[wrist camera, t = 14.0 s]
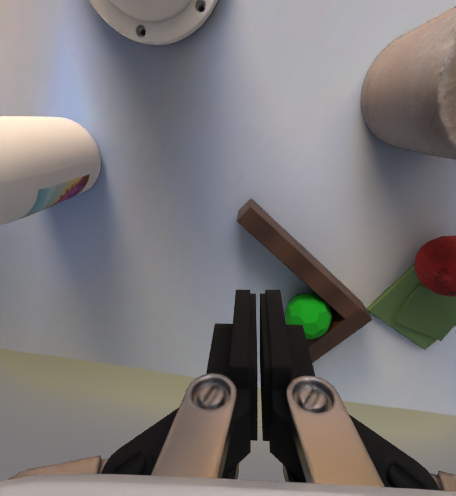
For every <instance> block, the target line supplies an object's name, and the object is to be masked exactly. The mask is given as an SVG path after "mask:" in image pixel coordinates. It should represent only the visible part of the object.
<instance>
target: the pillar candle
mask: <svg viewBox="0 0 456 496" xmlns="http://www.w3.org/2000/svg"><path fill="white" fill-rule="evenodd" d="M361 109H362V113H363V116H364V119H365V121H366V123H367V126H368V127H369V129H370V130H371V132H372V133H373V134H374V135H375V136H376V137H377V138H378V139H379V140H381V141H383V142H384V143H386V144H388V145H390V146H394V147H398V148H403V149H406V150H410V151H415V152H419V153H423V154H428V155H432V156H438V157H445V158H451V159H456V7H454V8H452V9H450V10H449V11H447V12H445V13H443V14H441V15H439V16H438V17H436V18H434V19H432V20H430V21H428V22H426V23H425V24H423V25H421V26H419V27H417V28H415V29H413V30H412V31H410V32H408V33H406V34H404V35H402V36H400V37H399V38H397V39H396V40H395V41H393V42H392V43H391V44H389V45H388V46H387V47H386V48H385V49H384V50H383V51H382V52H381V53H380V54H379V55H378V56H377V58H376V59H375V60H374V62H373V63H372V65H371V67H370V68H369V70H368V72H367V75H366V77H365V80H364V84H363V87H362V92H361Z"/></svg>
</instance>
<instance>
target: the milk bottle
mask: <svg viewBox="0 0 456 496" xmlns="http://www.w3.org/2000/svg"><path fill="white" fill-rule="evenodd" d="M100 169H101V157H100V153H99V149H98V147H97V144H96V143H95V141H94V139H93V138H92V136H91V135H90V134H89V133H88V132H87V131H86V130H85V129H84V128H83V127H82V126H80V125H79V124H77V123H76V122H74V121H72V120H69V119H66V118H60V117H0V225H2V224H6V223H10V222H13V221H15V220H18V219H21V218H24V217H26V216H29V215H31V214H34V213H36V212H39V211H41V210H43V209H46V208H48V207H51V206H53V205H55V204H58V203H60V202H62V201H65V200H67V199H69V198H71V197H74V196H76V195H78V194H80V193H82V192H84V191H86V190H88V189H89V188H91V187H92V186H93V185H94V183H95V182H96V180H97V179H98V176H99V173H100Z"/></svg>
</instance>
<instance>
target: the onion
mask: <svg viewBox="0 0 456 496" xmlns="http://www.w3.org/2000/svg"><path fill="white" fill-rule="evenodd" d="M415 271H416V275H417V278H418V279H419V281H420V282H421V283H422V284H423V285H424V286H425V287H427V288H428V289H429V290H431V291H432V292H433V293H436V294H439V295H443V296H449V297H455V296H456V236H442V237H439V238H436V239H434V240H431V241H429V242H427V243H426V244H425V245H424V246H422V247H421V249H420V250H419V252H418V253H417V255H416V260H415Z"/></svg>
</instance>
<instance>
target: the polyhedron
mask: <svg viewBox="0 0 456 496" xmlns="http://www.w3.org/2000/svg"><path fill="white" fill-rule="evenodd" d="M285 317H286V323H287V324H293V325H303V328H304V332H305V336H306V339H314V338H318V337H321V336H322V335H323V334H324V333H326V332H327V331H328V328H329V326H330V323H331V319H332V314H331V311H330V308H329V306H328V304H327V302H326V301H325V300H324V299H322V298H321V297H320V296H317V295H315V294H313V293H307V294H301V295H296V296H295V297H294V298H293V299H292V300H291V301H290V302H289V304H288V306H287V308H286V313H285Z"/></svg>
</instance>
